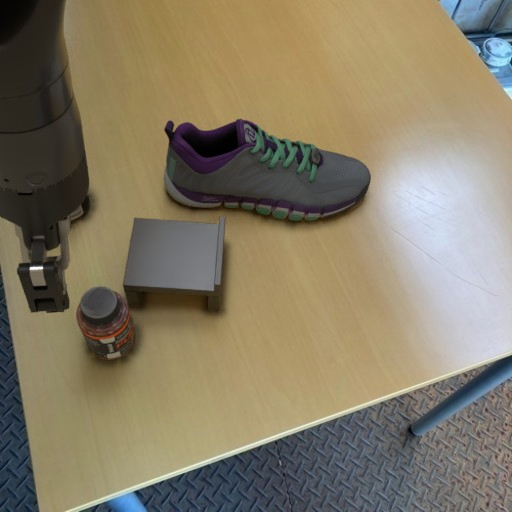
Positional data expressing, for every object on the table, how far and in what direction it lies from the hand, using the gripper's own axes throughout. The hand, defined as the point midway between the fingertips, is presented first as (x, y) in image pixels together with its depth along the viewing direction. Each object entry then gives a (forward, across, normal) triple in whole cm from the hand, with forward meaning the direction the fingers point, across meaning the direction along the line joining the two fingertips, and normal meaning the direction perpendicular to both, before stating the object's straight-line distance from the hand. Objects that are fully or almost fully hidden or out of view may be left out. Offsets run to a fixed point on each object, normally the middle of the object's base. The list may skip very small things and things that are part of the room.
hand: (58, 265), depth 51 cm
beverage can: (+21, -23, -2) cm, 31 cm away
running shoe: (+18, -22, +27) cm, 40 cm away
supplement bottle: (+21, -2, +4) cm, 22 cm away
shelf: (+20, -10, +13) cm, 26 cm away
